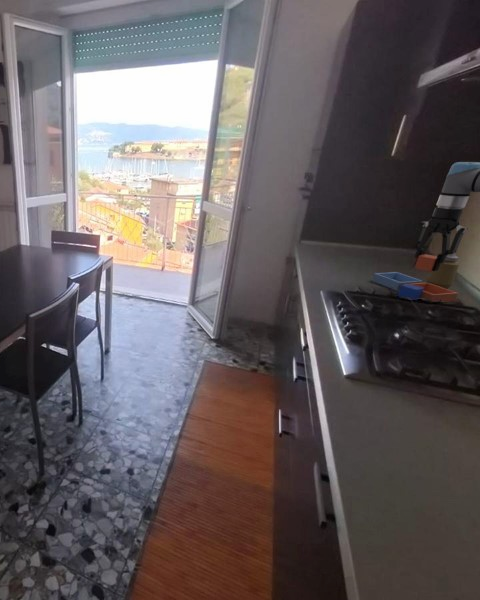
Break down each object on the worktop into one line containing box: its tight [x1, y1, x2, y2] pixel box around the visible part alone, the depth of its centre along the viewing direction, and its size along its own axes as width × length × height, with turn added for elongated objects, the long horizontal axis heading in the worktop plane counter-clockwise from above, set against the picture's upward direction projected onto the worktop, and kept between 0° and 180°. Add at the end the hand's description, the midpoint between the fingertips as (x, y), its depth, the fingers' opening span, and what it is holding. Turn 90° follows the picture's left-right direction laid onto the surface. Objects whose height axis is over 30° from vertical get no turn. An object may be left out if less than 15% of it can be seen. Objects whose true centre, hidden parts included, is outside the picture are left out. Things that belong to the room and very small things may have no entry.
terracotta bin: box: [404, 282, 459, 303], centre depth 140 cm, size 11×11×4 cm
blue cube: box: [397, 284, 424, 299], centre depth 138 cm, size 5×5×5 cm
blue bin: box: [371, 271, 424, 292], centre depth 152 cm, size 11×11×4 cm
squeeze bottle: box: [426, 252, 460, 290], centre depth 144 cm, size 8×8×18 cm
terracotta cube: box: [413, 253, 438, 272], centre depth 138 cm, size 5×5×5 cm
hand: (425, 268), depth 139 cm, fingers closed on terracotta cube, 5 cm apart
